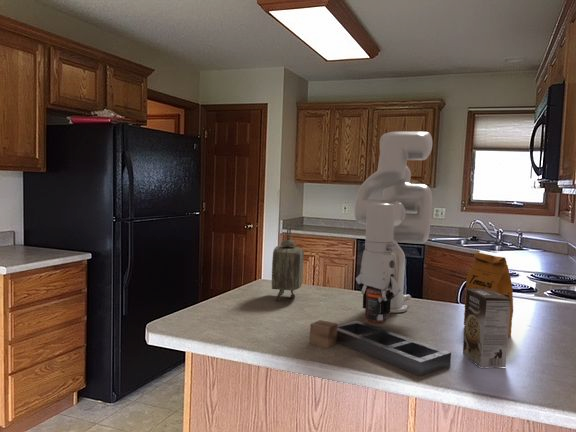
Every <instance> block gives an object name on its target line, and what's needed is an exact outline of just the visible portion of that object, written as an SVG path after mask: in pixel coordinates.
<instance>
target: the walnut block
mask: <svg viewBox="0 0 576 432" xmlns="http://www.w3.org/2000/svg"><path fill="white" fill-rule="evenodd" d="M338 324H339V323H337V322H332V321H327V320H322V319H319V320H317V321H314V322H312V323H310V327H309V328H310V329H309V344H310V345H314V346H317V347H322V348H326V349H328V348H330V347H332V346H333V345H335V344H337V343H338V342H337V325H338Z"/></svg>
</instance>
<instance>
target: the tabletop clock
mask: <svg viewBox="0 0 576 432" xmlns="http://www.w3.org/2000/svg"><path fill="white" fill-rule="evenodd" d="M291 231H292V229H291V225H290V226H288V227H287V228H286V239H284V240H282V241H281V244H280V245H277V246H275V247H274V249H273V252H272V263H271V266H272V267H271V289H272V290H279V291H278V293H277V295H275V297H274V301H276V302H279V301H280V296H281V295H283V294H285V291H290V293H291V294H290V298H291V299H292V300H293V299H295V298H296V294H294V292H295V291H296V290H298V289H301V287H302V284H303V279H304V255H305V253H304V252H305V249H302V248H300V247H298V246H296V243H295V241H294V240H292V239H291V234H292V233H291Z"/></svg>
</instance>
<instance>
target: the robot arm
mask: <svg viewBox="0 0 576 432" xmlns="http://www.w3.org/2000/svg"><path fill="white" fill-rule="evenodd" d="M432 150H433V137H432V135H431V133H430V132H428V131H390V132H385V133H383V134H382V135H381V137H380V138H379V158H378V159H379V160H378V165H377V171H375V172H373V173H372V174H371V175H370V176H368V177H367V179H365V181H363V183H362V184H361V185H360V187H359V189H358V192H357V195H356V200H355V206H354V219H355V220H356V222H357V223H358V224H360V225H365V242H364V243H365V244H364V250H363V252H362V257H361V258H362V259H361V263H360V272H359V274H358V275H357V277H355V281H356V282H357V284H358V287H359V289H360V290H361V291H360V293H361V294H362V309H365V308H366V291H367V289H368V288H370V287H374V288H376V289H380V290H381V292H382V297H383V300H382V301H381V314H382V315H385V314H387V315H389V314H390V313H392V314H393V313H394V314H395V313H398V314H399V313H405V312H406V311H407V310H408V305H407V304H405V302H406V301H411V299H412V296H411V295H410V294H406V293H405V294H404V285H405V284H404V283H405V271H406V270H405V267H406V255H405V252H404V250H403V249H402V248H401V246H400V245H399V244H398V243H406V244H419V245H421V244H424V243H426V242H427V241H428V240H429V237H430V234H431V233H430V231H431V219H432V205H433V194H432V190H431V188H430V187H429V186H428V185H427V184H423V183H411V177H412V172H411V170H410V167H409V166H408V165H407V163H408V161H425V160H427V159H428V158H429V156H430V155H431V153H432ZM382 190H383V192H382V199H375V198H370V197H371V196H372V195H373V194H375V193H377V192H380V191H382ZM386 291H387V294H386Z"/></svg>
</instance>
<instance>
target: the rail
mask: <svg viewBox="0 0 576 432" xmlns="http://www.w3.org/2000/svg"><path fill="white" fill-rule="evenodd" d="M337 324H338V325H337V343H338V344H341V345H343V346H346V347H348V348H351V349H353V350H355V351H357V352H360V353H362V354H365V355H368V356H370V357H372V358H375V359H378V360H379V361H382V362H384V363H386V364H390V365H391V366H394V367H396V368H398V369H402V370H404V371H406V372H409V373H410V374H411V373H412V374H414V375H416V376H419V377H422V376H425V375H428V374H430V373H433V372H436V371H438V370H442V369H444V368H448V367H450V366H451V359H452V352H450V351H447V350H445V349H442V348H439V347H436V346H433V345H431V344H427V343H425V342H421V341H418V340H415V339H412V338H409V337H407V336H404V335H401V334H397V333H394V332H392V331H388V330H387V329H382V328H380V327H377V326H374V325H372V324H368V323H366V322H363V321H359V320H353V321H349V322H348V321H347V322H344V323H337Z"/></svg>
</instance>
